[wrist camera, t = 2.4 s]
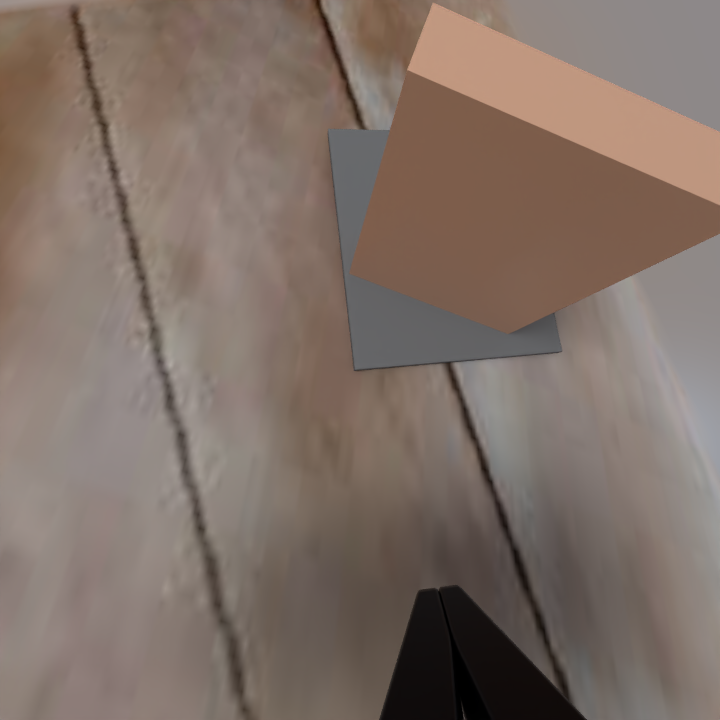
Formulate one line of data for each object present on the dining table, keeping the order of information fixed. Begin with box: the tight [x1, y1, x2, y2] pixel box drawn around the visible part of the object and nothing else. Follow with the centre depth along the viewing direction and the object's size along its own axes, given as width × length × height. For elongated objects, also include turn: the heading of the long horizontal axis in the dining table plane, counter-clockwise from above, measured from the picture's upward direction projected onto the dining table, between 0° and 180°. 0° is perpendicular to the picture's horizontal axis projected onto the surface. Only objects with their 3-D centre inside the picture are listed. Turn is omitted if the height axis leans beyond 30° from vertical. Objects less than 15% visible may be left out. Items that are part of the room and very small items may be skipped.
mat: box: [328, 129, 562, 371], centre depth 22 cm, size 15×13×1 cm
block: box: [349, 3, 720, 334], centre depth 16 cm, size 2×10×12 cm, turn 72°
